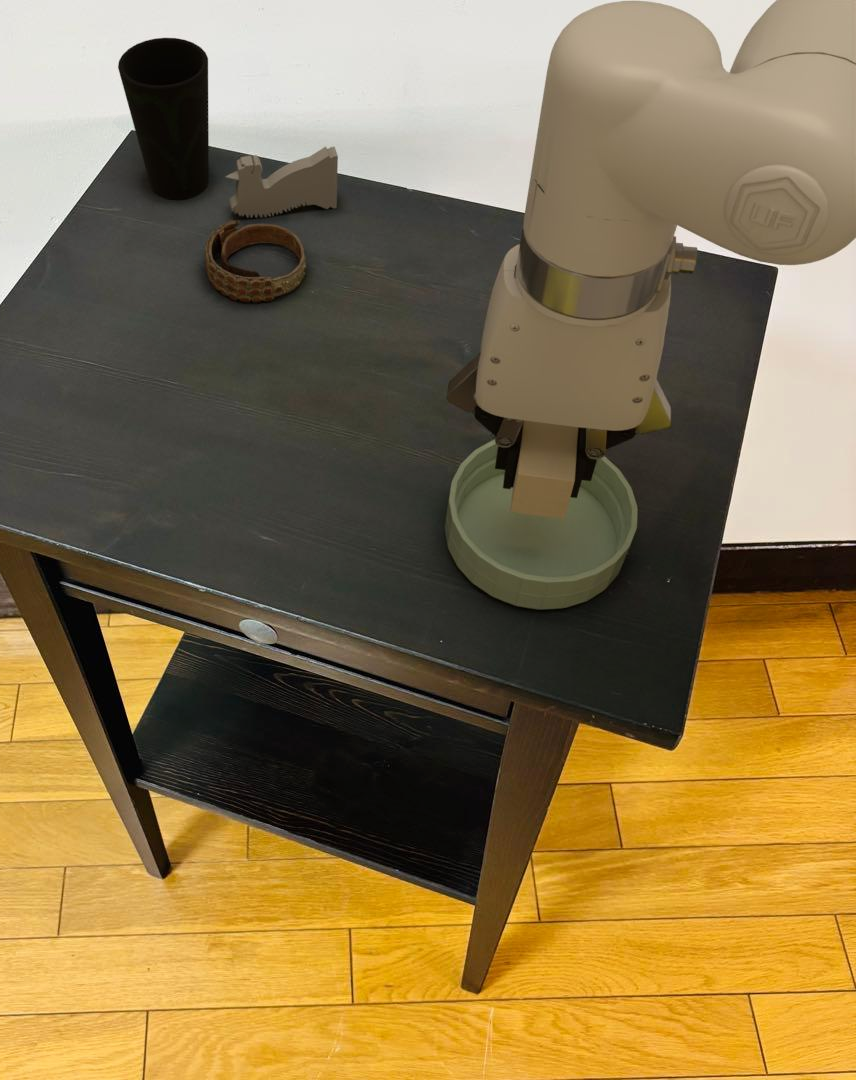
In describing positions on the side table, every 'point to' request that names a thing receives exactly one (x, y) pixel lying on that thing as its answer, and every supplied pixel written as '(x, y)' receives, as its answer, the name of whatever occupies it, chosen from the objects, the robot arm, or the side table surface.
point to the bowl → (538, 536)
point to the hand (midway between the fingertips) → (541, 475)
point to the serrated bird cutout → (285, 184)
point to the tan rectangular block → (545, 470)
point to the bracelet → (246, 281)
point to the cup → (169, 113)
